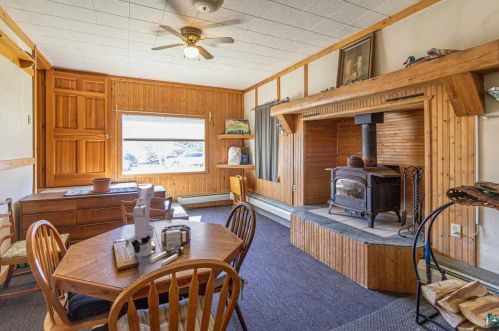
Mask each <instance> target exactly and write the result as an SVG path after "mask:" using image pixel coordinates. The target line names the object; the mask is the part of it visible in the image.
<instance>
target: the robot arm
mask: <svg viewBox="0 0 499 331" xmlns="http://www.w3.org/2000/svg"><path fill="white" fill-rule="evenodd" d="M136 191H137V195H138V198H137V199H136V203H135V207H133V209H132V217H133V222H134V235H133V236H131V237H130V238H128V243H129V244H130V245H131V246H132V248H133V252H134V251H135V253H139V244H140V242H145V243H147V251H148V253H147V254H145V255H143V256H142V257H147V256H150V255H151V254H153V253H156V251H155V250H152V240H153V239H154V233H155V232H154V228H155V227H154V226H153V225H152V224H150V214H151V213H150V210H151V208H150V206H151V199H152V198H154V196H155V184H154V183H138V184H137V185H136Z"/></svg>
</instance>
